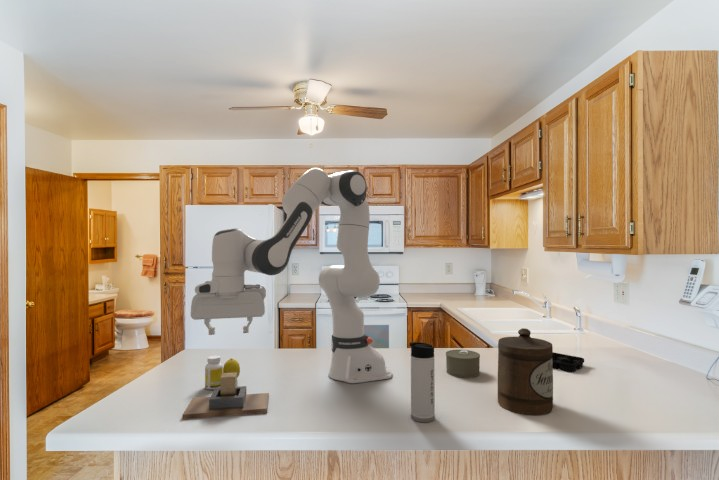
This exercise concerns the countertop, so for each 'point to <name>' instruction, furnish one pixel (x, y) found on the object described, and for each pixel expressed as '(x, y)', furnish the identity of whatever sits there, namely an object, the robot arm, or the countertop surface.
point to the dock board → (251, 406)
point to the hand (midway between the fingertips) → (229, 333)
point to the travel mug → (422, 382)
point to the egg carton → (567, 362)
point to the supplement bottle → (213, 373)
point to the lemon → (231, 367)
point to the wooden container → (525, 374)
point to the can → (463, 363)
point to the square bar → (229, 384)
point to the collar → (227, 399)
